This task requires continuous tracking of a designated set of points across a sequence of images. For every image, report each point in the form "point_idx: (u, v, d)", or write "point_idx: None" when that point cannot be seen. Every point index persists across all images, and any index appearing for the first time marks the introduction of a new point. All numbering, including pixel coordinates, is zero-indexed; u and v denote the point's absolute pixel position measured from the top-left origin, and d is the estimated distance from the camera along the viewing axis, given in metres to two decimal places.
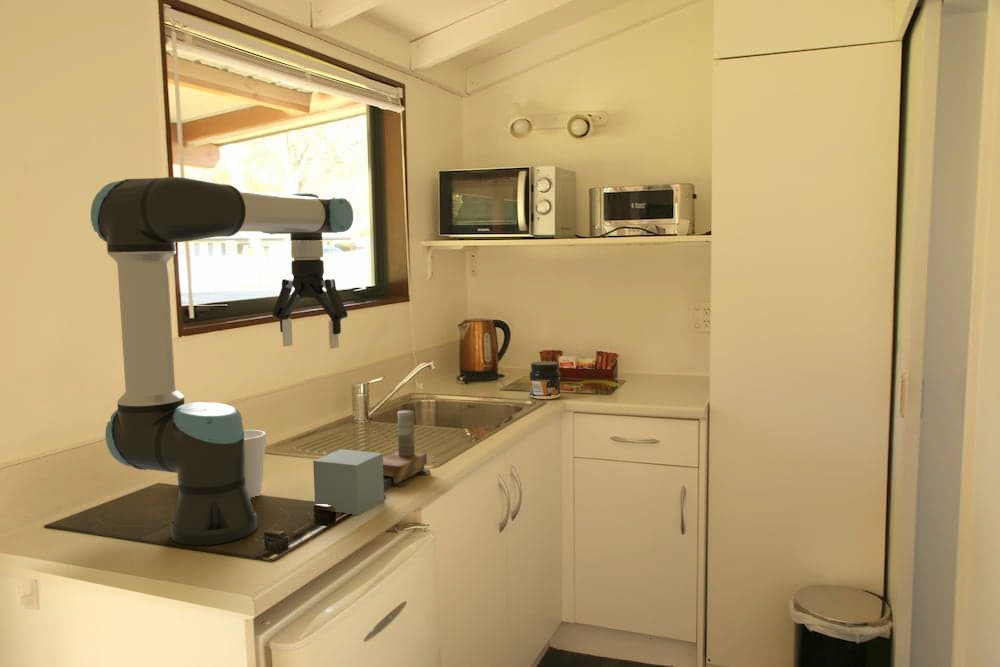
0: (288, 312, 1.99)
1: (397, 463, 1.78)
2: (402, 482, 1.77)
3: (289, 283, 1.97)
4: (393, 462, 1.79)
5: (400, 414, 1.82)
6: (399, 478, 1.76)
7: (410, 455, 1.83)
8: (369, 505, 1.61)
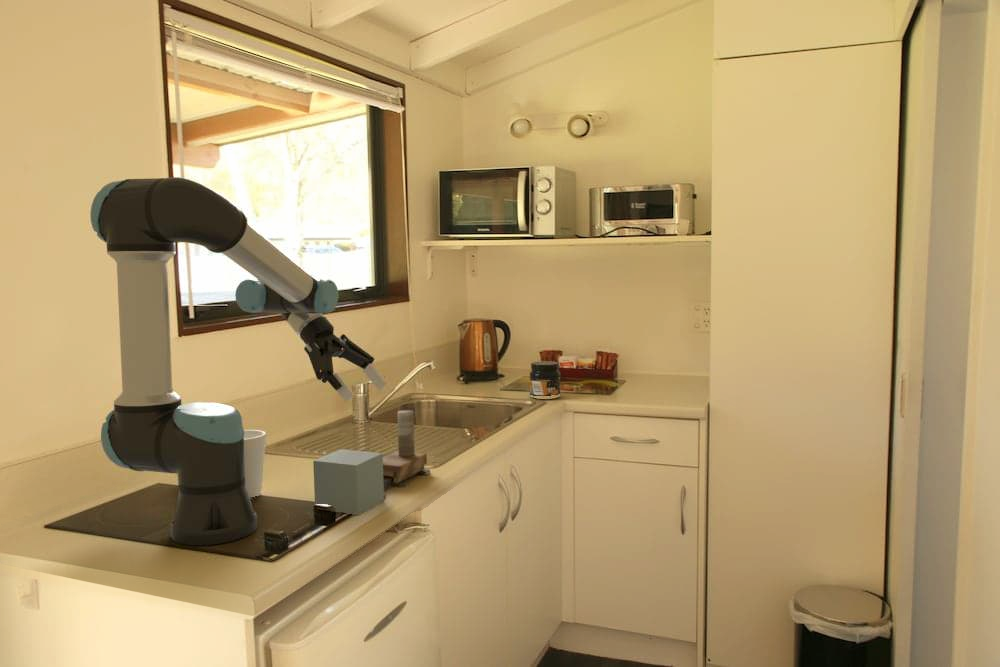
0: (359, 363, 1.94)
1: (397, 463, 1.78)
2: (402, 482, 1.77)
3: None
4: (393, 462, 1.79)
5: (400, 414, 1.82)
6: (399, 478, 1.76)
7: (410, 455, 1.83)
8: (369, 505, 1.61)
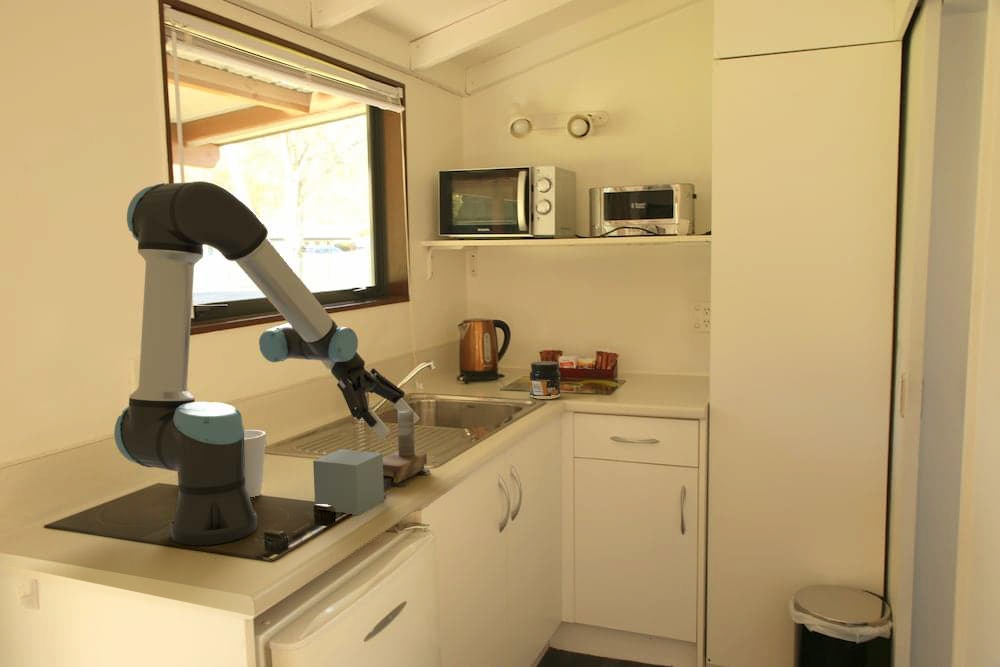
0: (390, 397, 1.92)
1: (397, 463, 1.78)
2: (402, 482, 1.77)
3: None
4: (393, 462, 1.79)
5: (400, 414, 1.82)
6: (399, 478, 1.76)
7: (410, 455, 1.83)
8: (369, 505, 1.61)
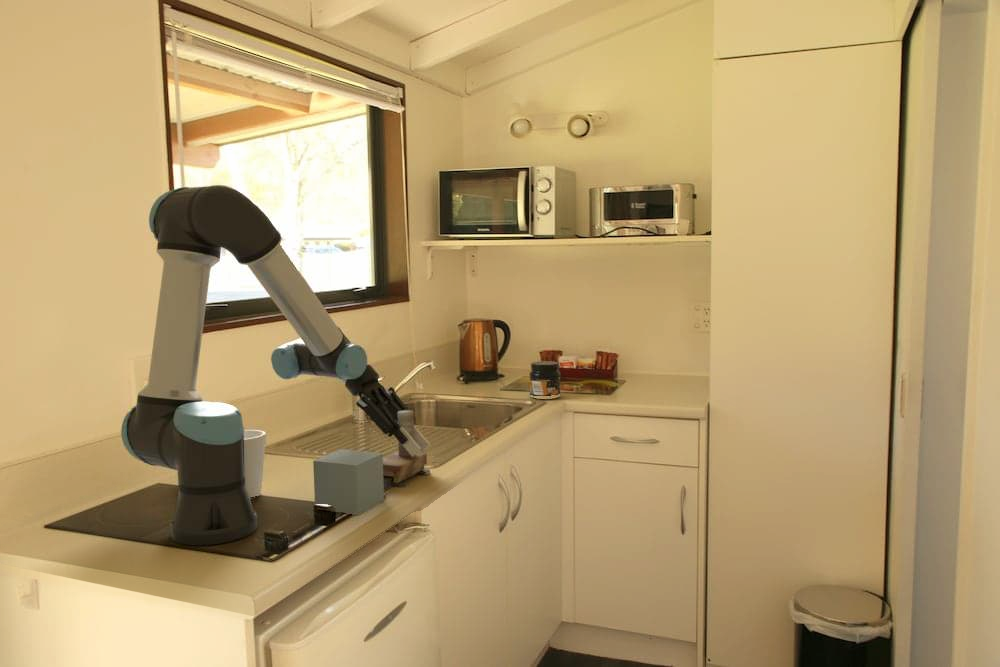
0: None
1: (397, 463, 1.78)
2: (402, 482, 1.77)
3: None
4: (393, 462, 1.79)
5: (400, 414, 1.82)
6: (399, 478, 1.76)
7: (410, 455, 1.83)
8: (369, 505, 1.61)
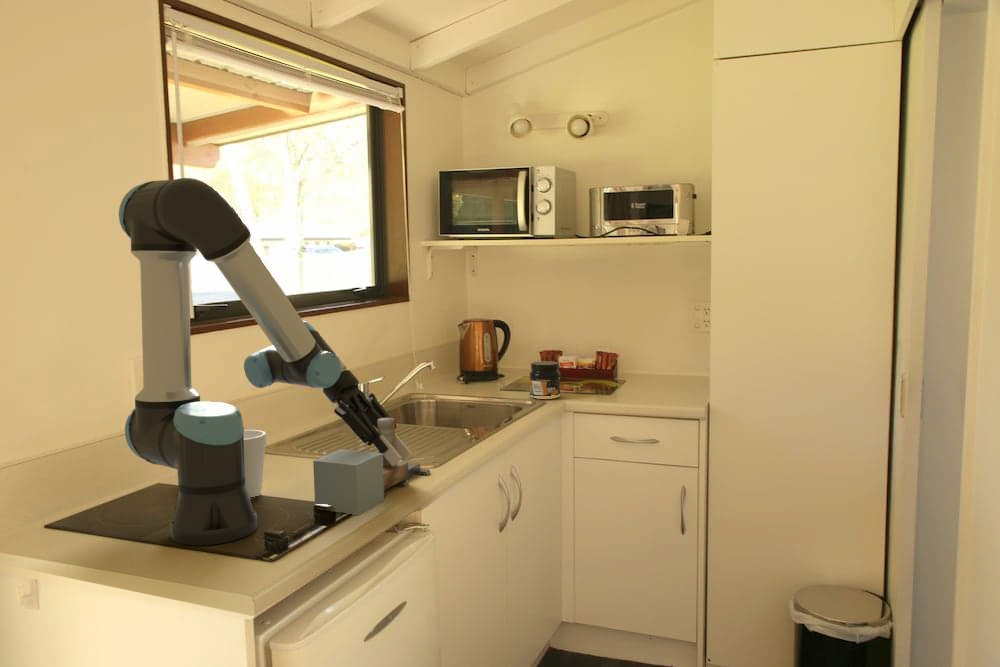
0: None
1: None
2: (402, 482, 1.77)
3: None
4: None
5: (380, 422, 1.74)
6: None
7: None
8: (369, 505, 1.61)
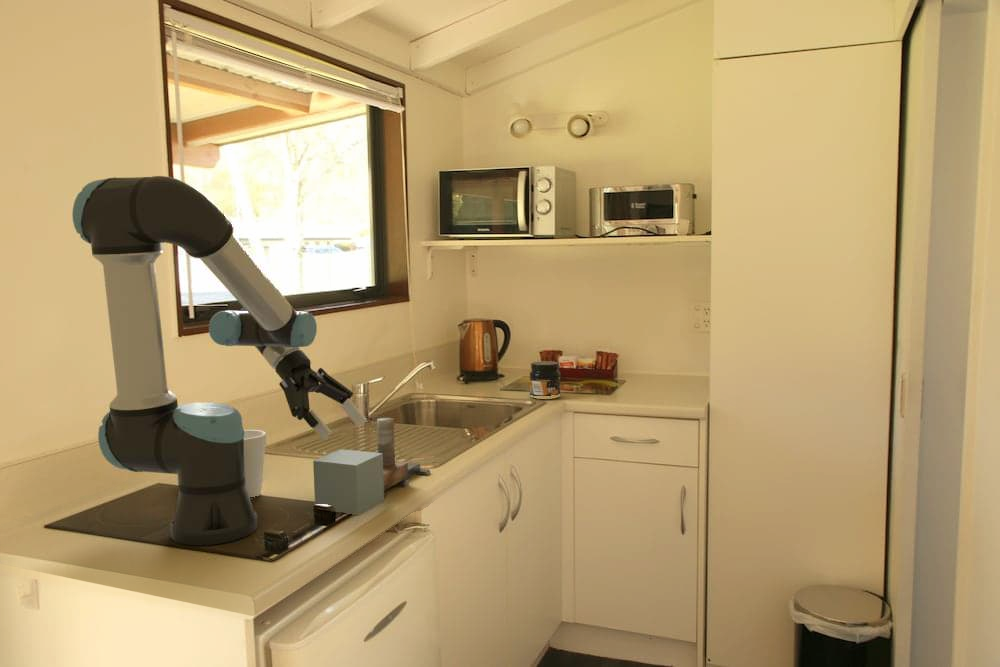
0: (337, 398, 1.88)
1: None
2: (402, 482, 1.77)
3: None
4: None
5: (380, 422, 1.74)
6: None
7: (390, 465, 1.75)
8: (369, 505, 1.61)
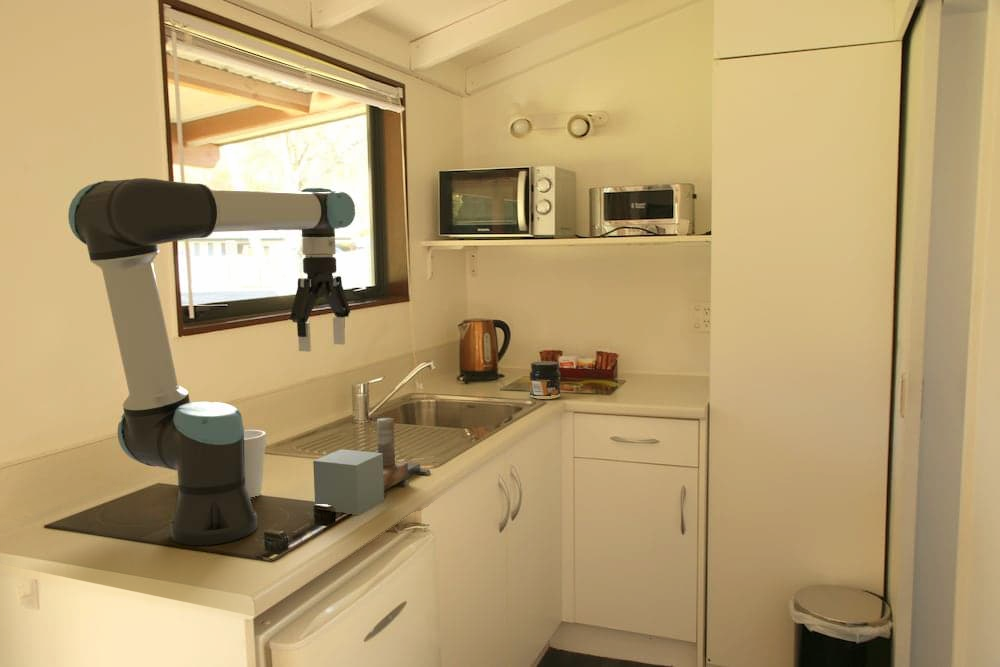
0: (335, 310, 1.94)
1: None
2: (402, 482, 1.77)
3: None
4: None
5: (380, 422, 1.74)
6: None
7: (390, 465, 1.75)
8: (369, 505, 1.61)
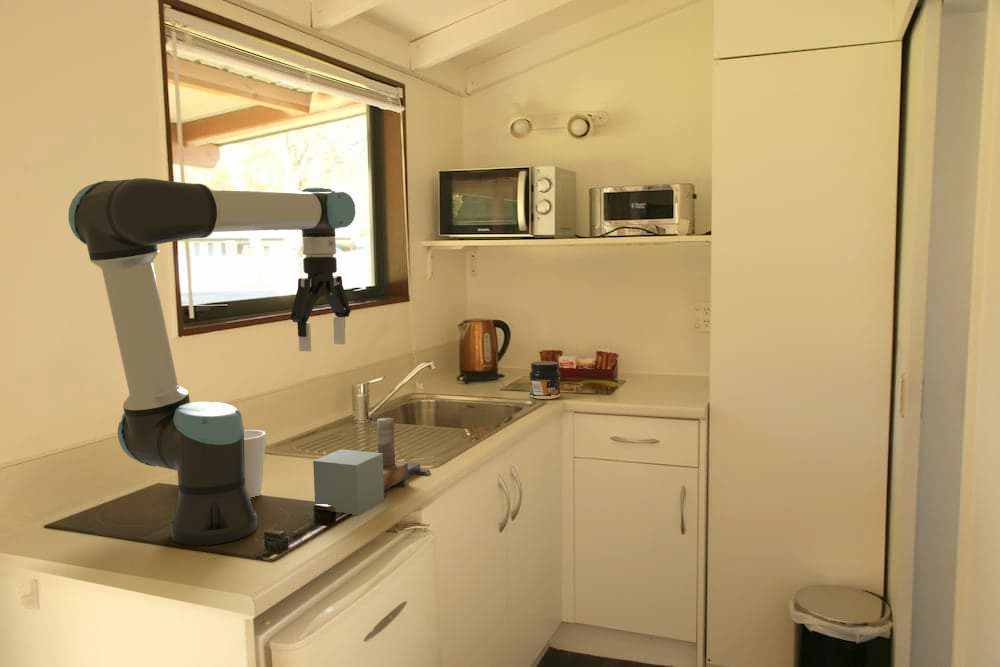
0: (336, 310, 1.94)
1: None
2: (402, 482, 1.77)
3: None
4: None
5: (380, 422, 1.74)
6: None
7: (390, 465, 1.75)
8: (369, 505, 1.61)
